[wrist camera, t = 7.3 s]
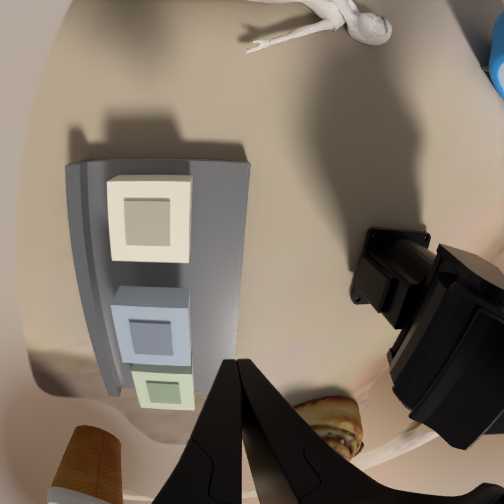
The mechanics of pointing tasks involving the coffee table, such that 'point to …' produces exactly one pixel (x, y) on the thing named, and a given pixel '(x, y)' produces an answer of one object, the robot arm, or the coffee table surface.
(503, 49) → the alarm clock
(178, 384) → the key sage
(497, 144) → the coffee table surface
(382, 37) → the woman figurine
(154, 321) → the key blue
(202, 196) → the keypad
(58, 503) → the disposable coffee cup
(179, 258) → the key ivory
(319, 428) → the pastry
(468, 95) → the coffee table surface
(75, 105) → the coffee table surface
